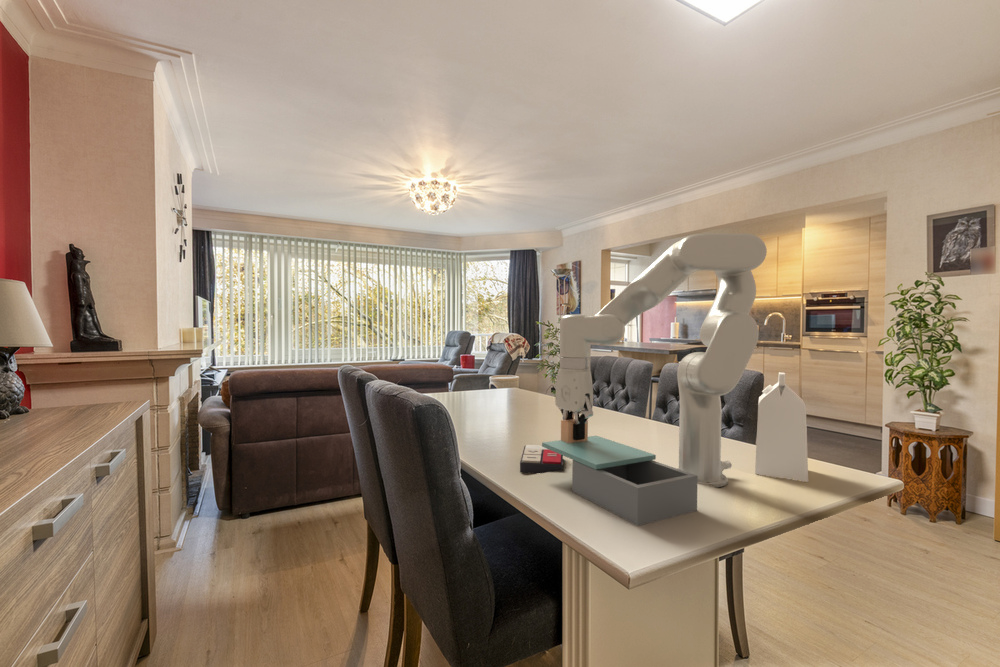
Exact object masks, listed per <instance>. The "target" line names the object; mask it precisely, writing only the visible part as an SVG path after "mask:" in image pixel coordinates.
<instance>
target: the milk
mask: <svg viewBox="0 0 1000 667" xmlns="http://www.w3.org/2000/svg"><path fill="white" fill-rule="evenodd" d="M777 377H778V378H777V382H776V383H775V384H773V385H772V384H769V385H767V386H766V387H765V388H764V389H763V390H762V391H761V392H762V394H761V395H760V396H759V397H758V403H757V405H758V406H757V424H756V426H757V427H756V443H755V444H756V445H755V466H754V467H755V469H754V475H755V474H759V475H758V476H762V475H766V476H765V477H769V476H772V477H771V478H776V477H780V478H779V479H783V478H787V479H786V480H790V479H794V480H793V481H797V480H801V481H800V482H804V481H806V483H809V464H808V433H807V432H808V430H807V428H808V427H807V426H808V425H807V405H806V403H805V401H804V400H803V398H802V397H800V395H798V394H797V393H796V392H795V391H794V390H793V389H792V388H791V387H790V386H788V384H786V373H785V372H780V371H778V376H777Z"/></svg>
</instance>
